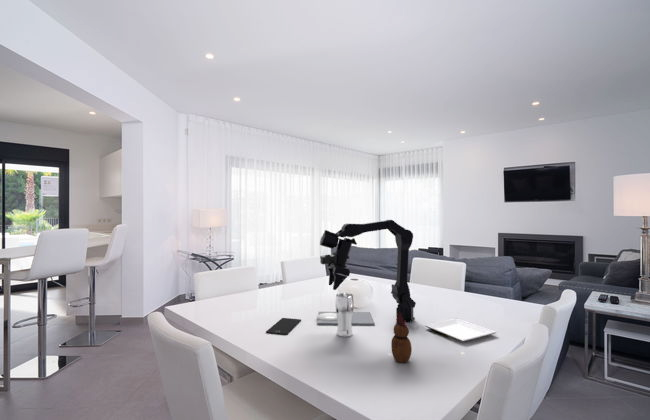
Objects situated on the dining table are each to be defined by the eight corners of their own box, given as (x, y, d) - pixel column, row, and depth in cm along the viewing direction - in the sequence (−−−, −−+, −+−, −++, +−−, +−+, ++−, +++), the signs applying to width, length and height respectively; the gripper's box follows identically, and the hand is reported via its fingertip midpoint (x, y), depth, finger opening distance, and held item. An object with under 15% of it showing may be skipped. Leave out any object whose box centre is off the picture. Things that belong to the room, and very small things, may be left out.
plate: (463, 346, 113) (463, 340, 113) (424, 329, 129) (424, 324, 129) (497, 337, 121) (497, 331, 121) (456, 322, 138) (456, 317, 138)
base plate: (370, 313, 149) (370, 311, 149) (374, 325, 133) (374, 322, 133) (318, 313, 150) (318, 311, 150) (316, 324, 134) (316, 322, 134)
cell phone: (265, 334, 124) (265, 331, 124) (282, 319, 142) (282, 317, 142) (286, 336, 122) (286, 333, 122) (301, 321, 140) (301, 319, 140)
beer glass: (352, 338, 119) (352, 297, 120) (334, 336, 121) (334, 296, 121) (354, 331, 126) (354, 293, 126) (337, 330, 128) (337, 292, 128)
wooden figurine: (389, 355, 104) (389, 309, 104) (406, 355, 105) (406, 309, 105) (395, 365, 97) (395, 315, 98) (413, 364, 98) (413, 315, 98)
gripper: (321, 244, 145) (311, 278, 143) (329, 248, 126) (317, 287, 125) (344, 251, 146) (334, 284, 145) (355, 256, 128) (343, 294, 127)
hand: (331, 287), depth 136 cm, fingers open, 9 cm apart
